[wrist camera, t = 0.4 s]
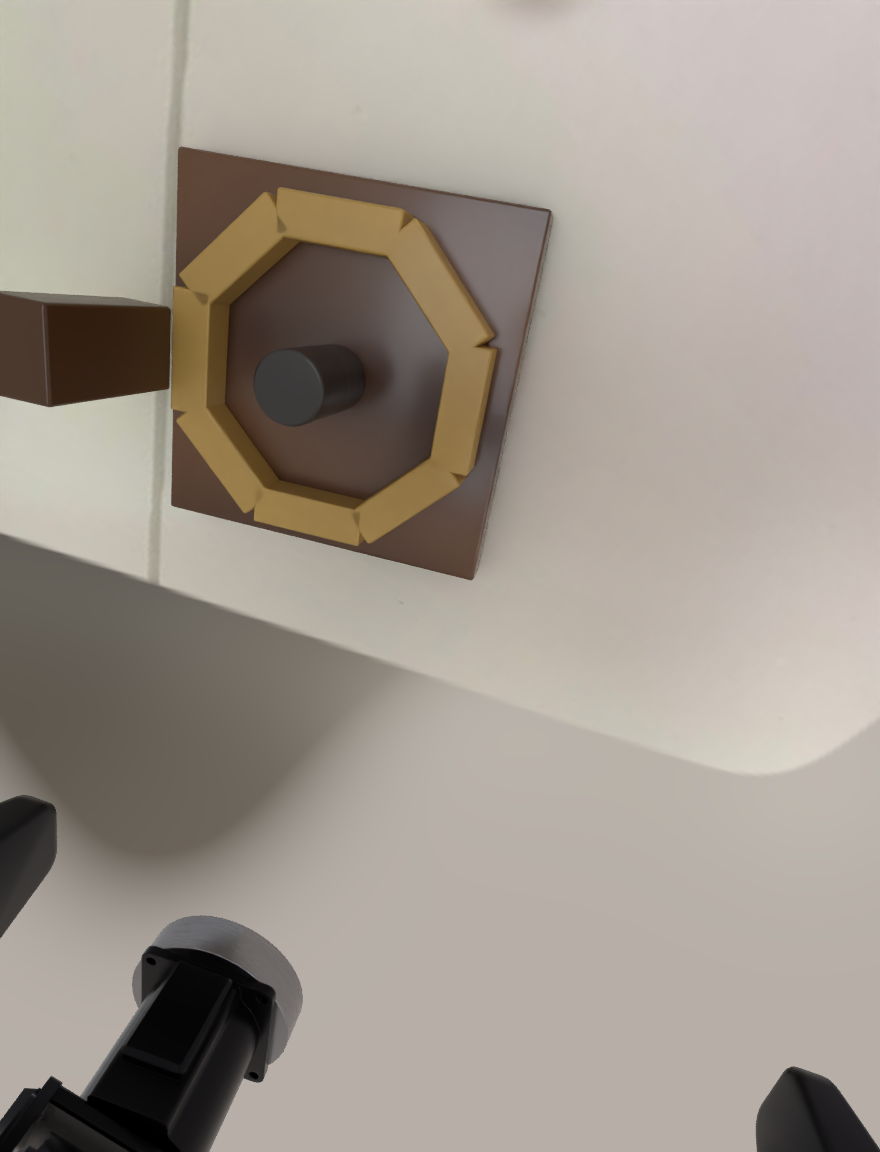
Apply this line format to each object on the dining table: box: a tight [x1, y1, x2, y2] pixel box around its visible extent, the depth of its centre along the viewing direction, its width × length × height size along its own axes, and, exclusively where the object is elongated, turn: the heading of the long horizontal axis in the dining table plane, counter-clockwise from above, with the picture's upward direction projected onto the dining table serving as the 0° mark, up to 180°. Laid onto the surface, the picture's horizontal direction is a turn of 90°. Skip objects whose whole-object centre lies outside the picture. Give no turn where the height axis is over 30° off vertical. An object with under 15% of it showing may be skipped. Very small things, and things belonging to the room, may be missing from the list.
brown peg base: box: [171, 147, 553, 580], centre depth 19 cm, size 11×11×4 cm
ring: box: [0, 187, 497, 546], centre depth 18 cm, size 10×11×6 cm
